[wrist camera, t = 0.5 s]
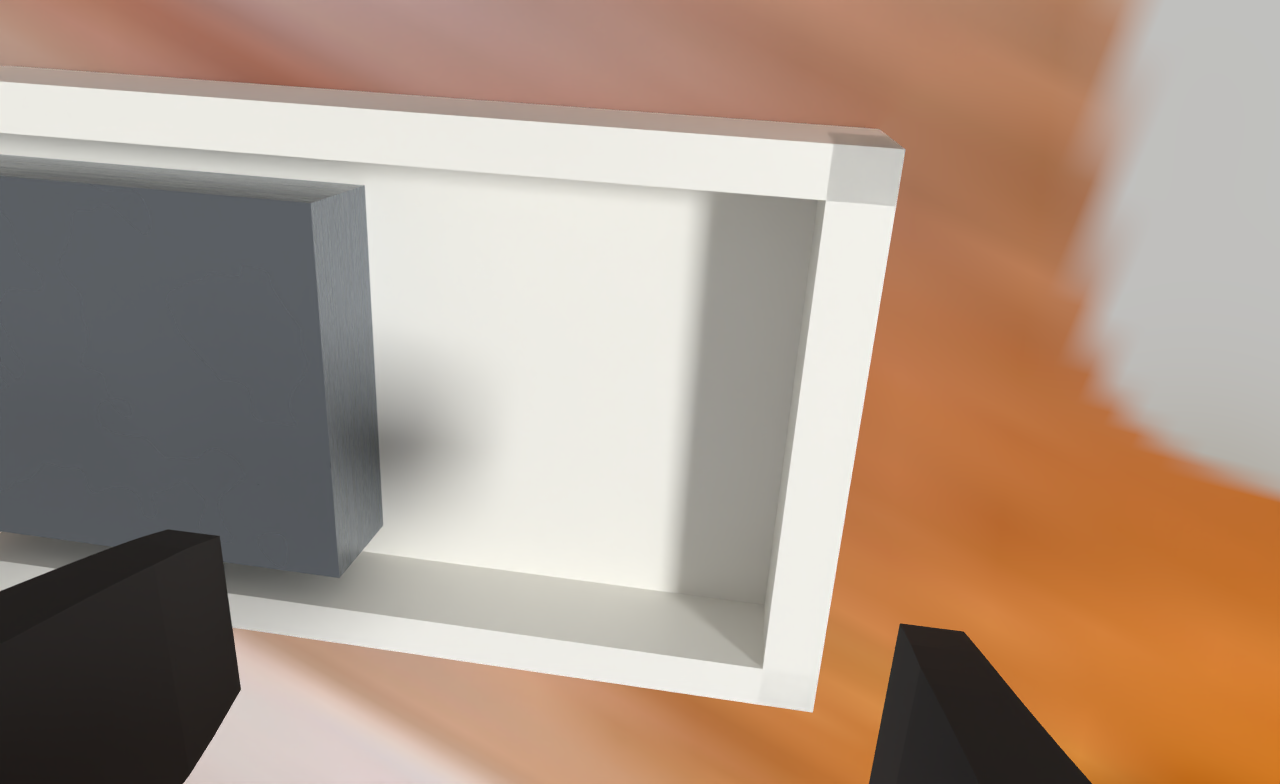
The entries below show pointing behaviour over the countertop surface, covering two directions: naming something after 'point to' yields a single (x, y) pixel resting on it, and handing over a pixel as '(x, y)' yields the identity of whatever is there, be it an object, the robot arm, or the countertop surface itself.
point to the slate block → (187, 361)
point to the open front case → (559, 367)
